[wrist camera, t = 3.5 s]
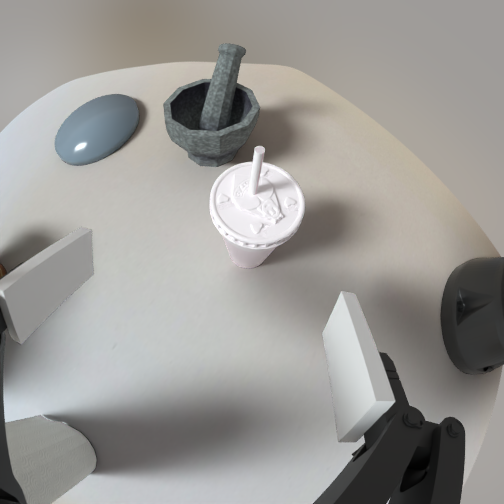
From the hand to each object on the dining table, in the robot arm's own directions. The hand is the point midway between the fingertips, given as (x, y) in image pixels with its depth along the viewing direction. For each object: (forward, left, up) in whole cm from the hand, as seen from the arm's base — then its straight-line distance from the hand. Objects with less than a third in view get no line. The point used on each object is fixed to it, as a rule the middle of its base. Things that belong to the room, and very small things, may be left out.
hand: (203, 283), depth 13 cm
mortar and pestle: (-9, -17, -12) cm, 23 cm away
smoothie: (-6, -4, -12) cm, 14 cm away
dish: (+3, -30, -12) cm, 32 cm away
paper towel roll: (+21, +5, -12) cm, 25 cm away
